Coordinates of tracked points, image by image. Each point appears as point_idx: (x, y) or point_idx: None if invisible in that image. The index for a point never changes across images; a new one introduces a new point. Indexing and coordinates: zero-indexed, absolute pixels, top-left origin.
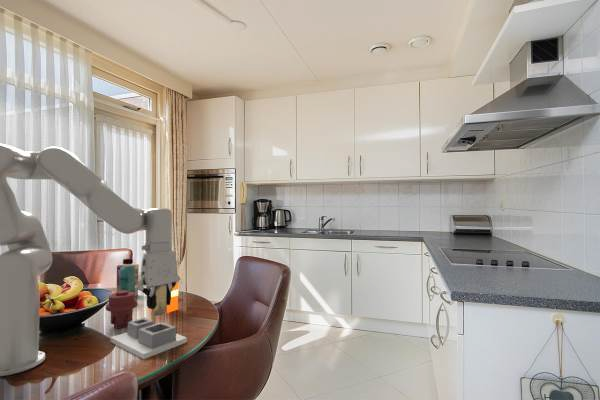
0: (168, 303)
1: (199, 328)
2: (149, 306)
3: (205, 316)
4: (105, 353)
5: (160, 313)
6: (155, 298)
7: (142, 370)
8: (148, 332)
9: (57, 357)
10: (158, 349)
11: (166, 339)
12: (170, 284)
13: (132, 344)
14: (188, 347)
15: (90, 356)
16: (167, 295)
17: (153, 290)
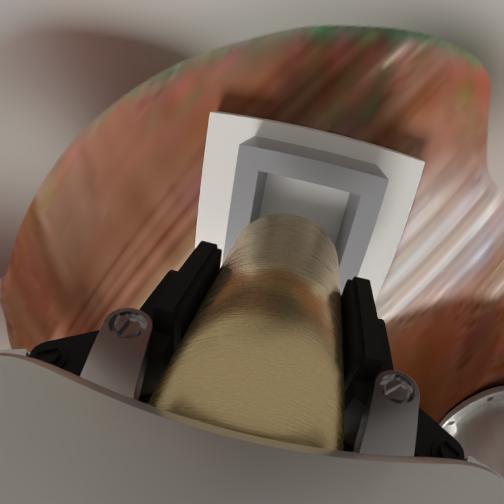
0: (216, 250)
1: (99, 178)
2: (378, 319)
3: (38, 244)
4: (412, 321)
5: (316, 228)
6: (342, 341)
7: (477, 97)
8: (365, 228)
9: (447, 394)
10: (359, 141)
11: (305, 149)
12: (98, 379)
13: (367, 277)
14: (253, 63)
15: (436, 340)
16: (192, 306)
17: (376, 424)
